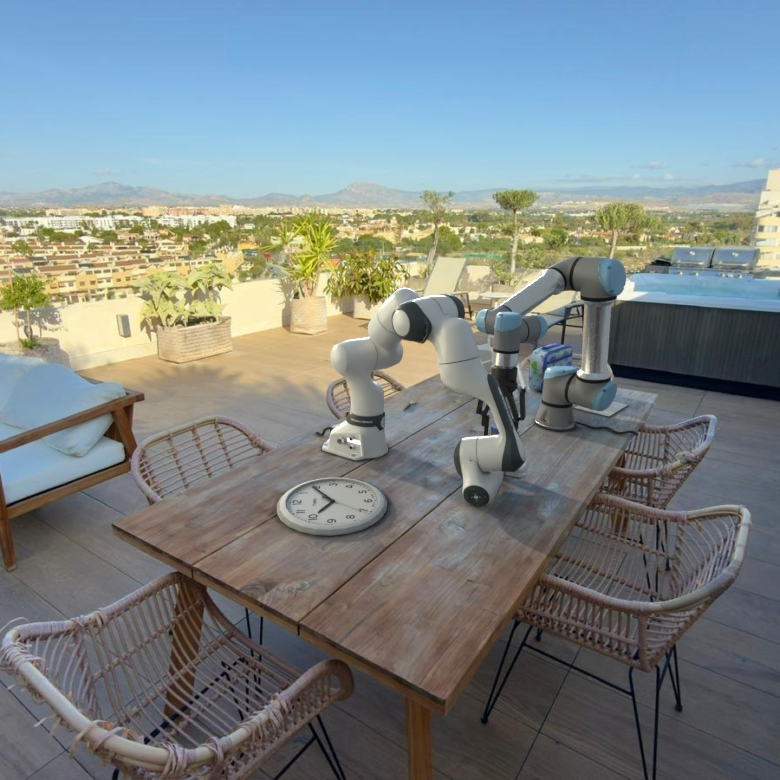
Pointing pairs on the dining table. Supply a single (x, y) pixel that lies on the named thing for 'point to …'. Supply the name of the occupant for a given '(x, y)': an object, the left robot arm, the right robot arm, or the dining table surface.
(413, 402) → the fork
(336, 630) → the dining table surface
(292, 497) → the wall clock
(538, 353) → the lunch box
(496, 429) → the lid
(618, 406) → the invitation card
